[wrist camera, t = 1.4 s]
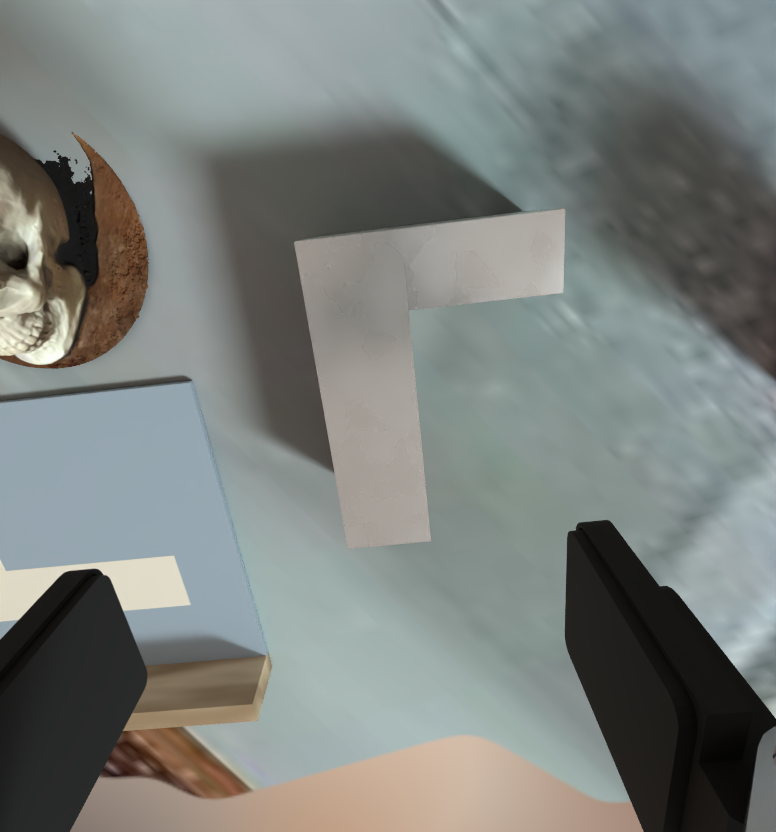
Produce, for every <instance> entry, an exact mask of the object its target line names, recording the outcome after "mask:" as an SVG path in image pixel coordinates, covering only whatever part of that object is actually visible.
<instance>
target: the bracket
mask: <svg viewBox="0 0 776 832" xmlns="http://www.w3.org/2000/svg"><path fill="white" fill-rule="evenodd" d="M564 238H565V209H552V210H536V211H521V212H513V213H505V214H497V215H488V216H480V217H472V218H464V219H456V220H447V221H439V222H431V223H423V224H415V225H406V226H398V227H390V228H382V229H373V230H365V231H357V232H349V233H341V234H332V235H324V236H316V237H312V238H308V239H303V240H299V241H295V242H294V245H295V251H296V256H297V262H298V268H299V274H300V279H301V285H302V291H303V296H304V302H305V308H306V313H307V319H308V325H309V330H310V336H311V342H312V347H313V353H314V359H315V364H316V370H317V376H318V381H319V387H320V393H321V398H322V404H323V410H324V416H325V421H326V427H327V433H328V438H329V444H330V450H331V455H332V461H333V467H334V472H335V478H336V484H337V489H338V495H339V501H340V506H341V512H342V518H343V523H344V529H345V535H346V541H347V546H348V549H349V548H360V547H372V546H383V545H394V544H405V543H416V542H427V541H431V538H430V527H429V517H428V507H427V496H426V486H425V476H424V465H423V455H422V445H421V434H420V424H419V414H418V403H417V393H416V383H415V372H414V362H413V351H412V341H411V331H410V320H409V310H415V309H424V308H433V307H442V306H451V305H459V304H468V303H477V302H486V301H495V300H504V299H512V298H521V297H530V296H539V295H548V294H557V293H563V281H564Z"/></svg>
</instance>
